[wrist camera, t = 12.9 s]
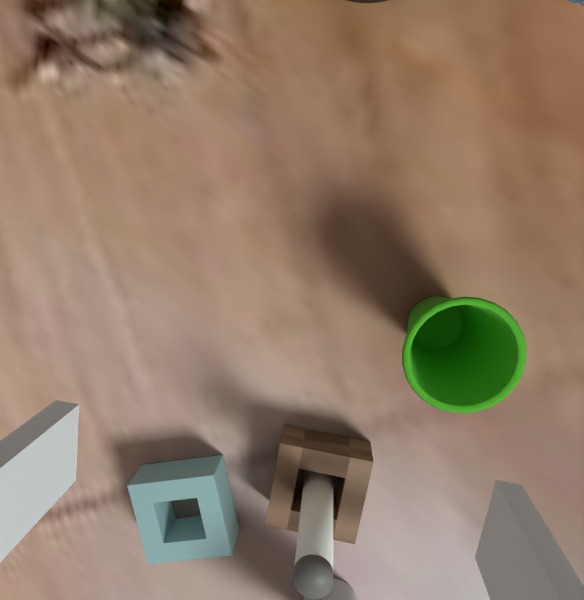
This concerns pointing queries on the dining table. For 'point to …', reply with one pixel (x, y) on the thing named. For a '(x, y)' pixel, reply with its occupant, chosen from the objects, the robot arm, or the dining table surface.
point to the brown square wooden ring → (328, 460)
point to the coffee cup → (338, 592)
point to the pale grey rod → (315, 537)
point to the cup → (462, 353)
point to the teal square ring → (190, 530)
